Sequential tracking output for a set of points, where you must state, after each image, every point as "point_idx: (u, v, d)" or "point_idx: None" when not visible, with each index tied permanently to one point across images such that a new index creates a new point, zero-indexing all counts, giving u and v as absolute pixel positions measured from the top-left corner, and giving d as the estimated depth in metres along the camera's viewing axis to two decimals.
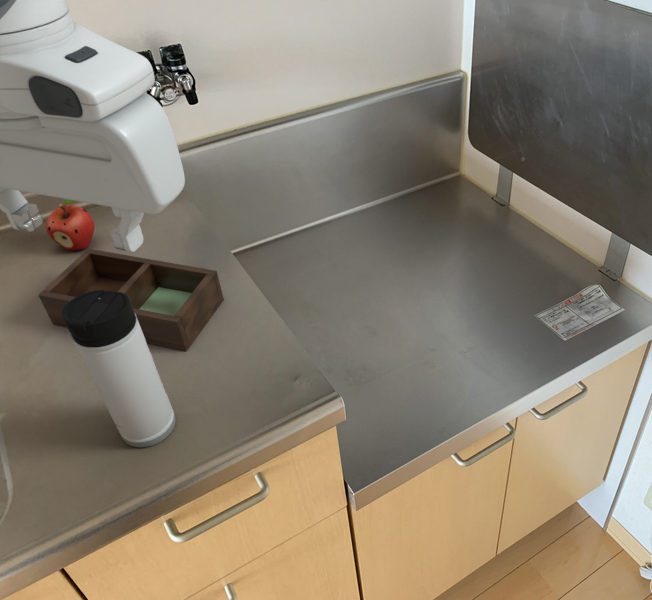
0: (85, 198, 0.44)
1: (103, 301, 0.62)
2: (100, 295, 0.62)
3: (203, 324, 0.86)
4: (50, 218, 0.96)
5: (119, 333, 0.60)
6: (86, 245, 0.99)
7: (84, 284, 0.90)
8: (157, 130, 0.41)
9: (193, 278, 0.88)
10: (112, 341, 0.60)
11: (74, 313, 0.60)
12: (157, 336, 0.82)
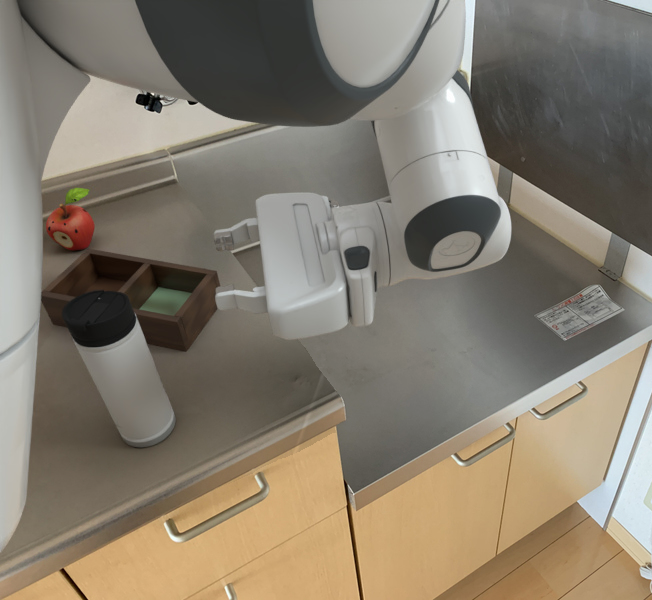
0: (269, 270, 0.57)
1: (103, 301, 0.62)
2: (100, 295, 0.62)
3: (203, 324, 0.86)
4: (50, 218, 0.96)
5: (119, 333, 0.60)
6: (86, 245, 0.99)
7: (84, 284, 0.90)
8: (332, 320, 0.56)
9: (193, 278, 0.88)
10: (112, 341, 0.60)
11: (74, 313, 0.60)
12: (157, 336, 0.82)
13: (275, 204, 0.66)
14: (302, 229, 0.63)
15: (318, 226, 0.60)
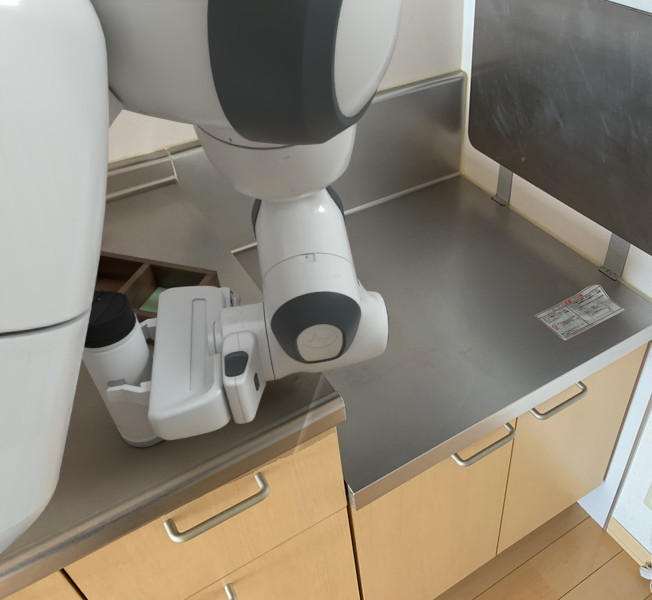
0: (156, 372, 0.62)
1: (103, 301, 0.62)
2: (100, 295, 0.62)
3: None
4: None
5: (119, 333, 0.60)
6: None
7: None
8: (210, 421, 0.61)
9: (193, 278, 0.88)
10: (112, 342, 0.60)
11: None
12: None
13: (175, 299, 0.71)
14: (196, 327, 0.68)
15: (207, 328, 0.66)
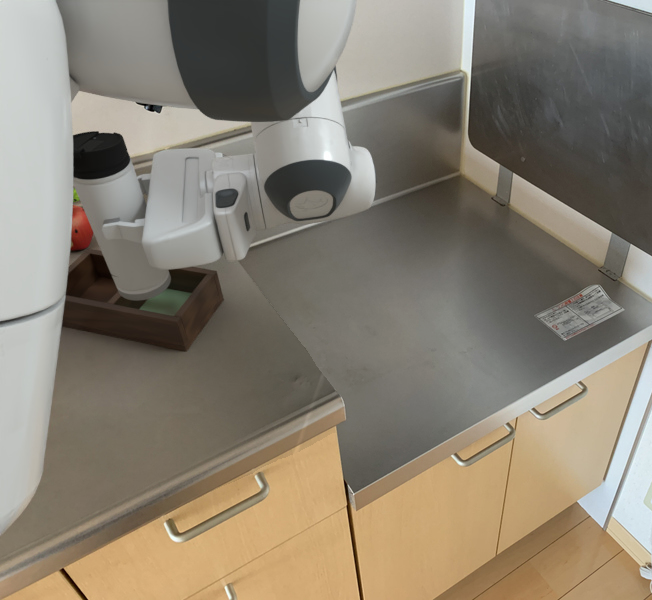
0: (150, 210, 0.65)
1: (98, 139, 0.64)
2: (95, 135, 0.65)
3: (203, 324, 0.86)
4: None
5: (113, 166, 0.62)
6: (86, 245, 0.99)
7: (84, 284, 0.90)
8: (202, 252, 0.63)
9: (193, 278, 0.88)
10: (106, 174, 0.62)
11: None
12: (157, 336, 0.82)
13: (169, 157, 0.73)
14: (189, 178, 0.70)
15: (199, 173, 0.68)
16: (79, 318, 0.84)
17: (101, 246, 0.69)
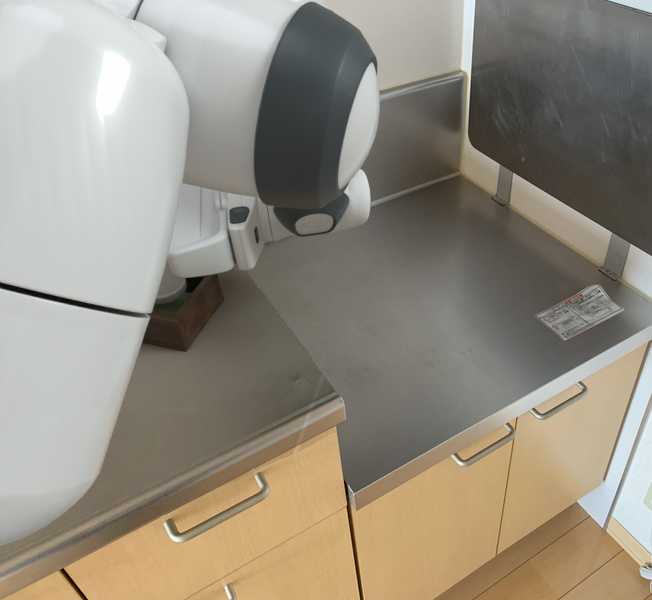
0: None
1: None
2: None
3: (203, 324, 0.86)
4: None
5: None
6: None
7: None
8: (217, 262, 0.72)
9: (193, 278, 0.88)
10: None
11: None
12: (157, 336, 0.82)
13: None
14: (205, 195, 0.79)
15: (214, 192, 0.77)
16: None
17: None
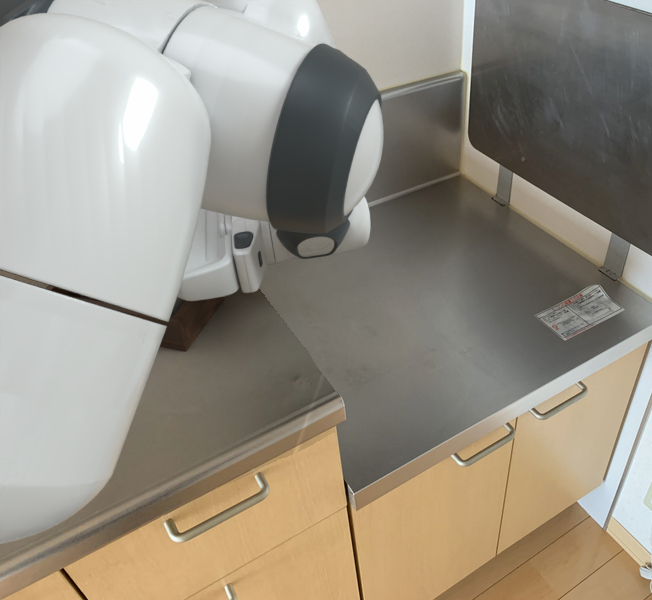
0: None
1: None
2: None
3: (203, 324, 0.86)
4: None
5: None
6: None
7: None
8: (222, 286, 0.74)
9: None
10: None
11: None
12: None
13: None
14: (209, 219, 0.81)
15: (219, 217, 0.79)
16: None
17: None
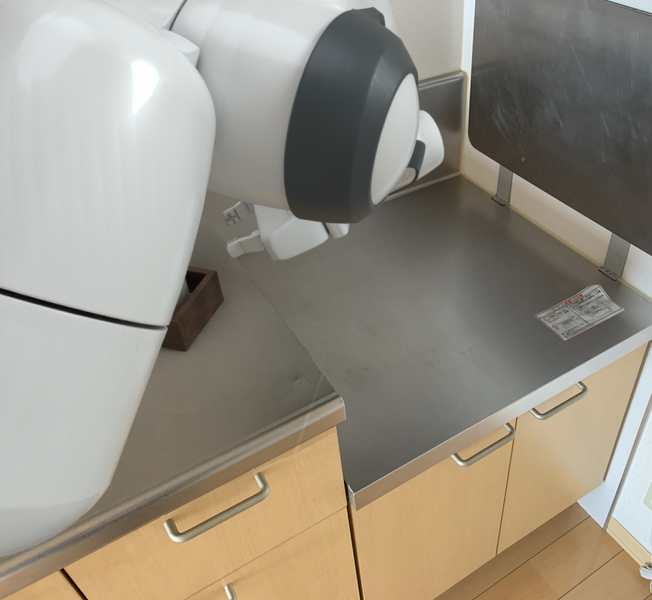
0: (259, 217, 0.74)
1: None
2: None
3: (203, 324, 0.86)
4: None
5: None
6: None
7: None
8: (312, 235, 0.71)
9: (193, 278, 0.88)
10: None
11: None
12: None
13: None
14: None
15: None
16: None
17: None
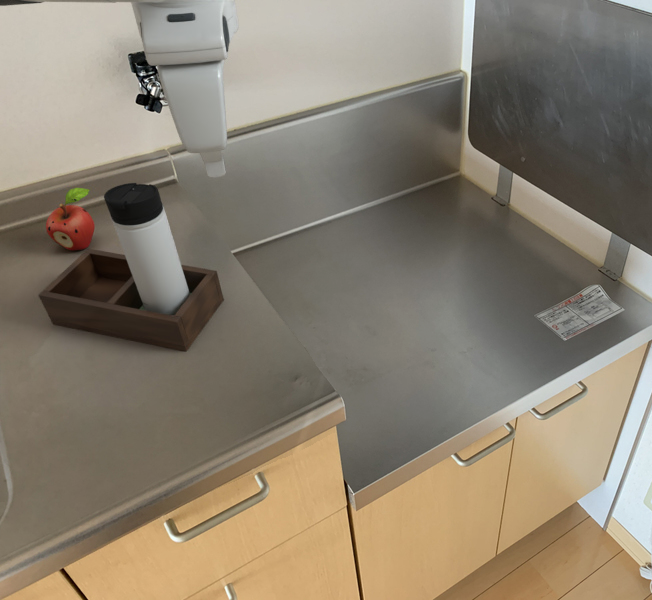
0: None
1: (136, 190, 0.75)
2: (134, 186, 0.76)
3: (203, 324, 0.86)
4: (50, 218, 0.96)
5: (150, 214, 0.74)
6: (86, 245, 0.99)
7: (84, 284, 0.90)
8: (201, 91, 0.50)
9: (193, 278, 0.88)
10: (144, 221, 0.74)
11: (113, 198, 0.74)
12: (157, 336, 0.82)
13: None
14: None
15: None
16: (79, 318, 0.84)
17: (136, 279, 0.80)
